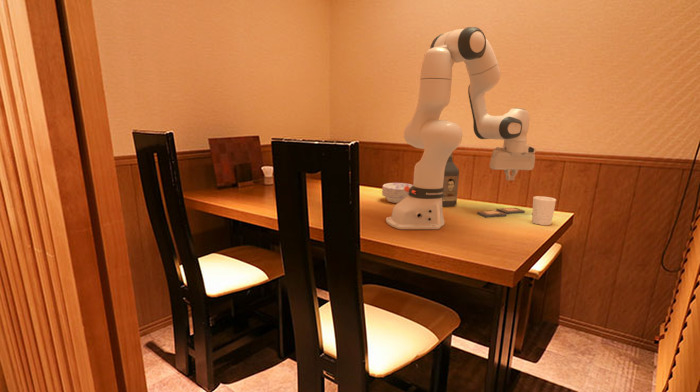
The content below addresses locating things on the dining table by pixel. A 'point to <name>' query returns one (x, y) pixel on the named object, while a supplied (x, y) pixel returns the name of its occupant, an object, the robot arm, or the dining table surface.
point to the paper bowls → (395, 191)
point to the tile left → (491, 214)
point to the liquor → (450, 183)
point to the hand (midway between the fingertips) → (509, 180)
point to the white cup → (543, 210)
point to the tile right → (510, 210)
